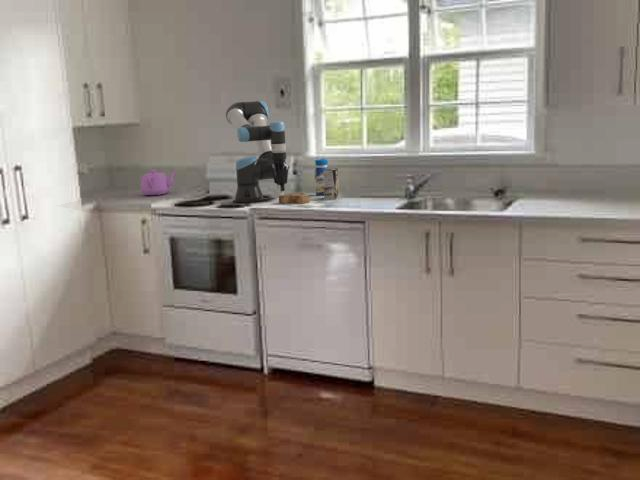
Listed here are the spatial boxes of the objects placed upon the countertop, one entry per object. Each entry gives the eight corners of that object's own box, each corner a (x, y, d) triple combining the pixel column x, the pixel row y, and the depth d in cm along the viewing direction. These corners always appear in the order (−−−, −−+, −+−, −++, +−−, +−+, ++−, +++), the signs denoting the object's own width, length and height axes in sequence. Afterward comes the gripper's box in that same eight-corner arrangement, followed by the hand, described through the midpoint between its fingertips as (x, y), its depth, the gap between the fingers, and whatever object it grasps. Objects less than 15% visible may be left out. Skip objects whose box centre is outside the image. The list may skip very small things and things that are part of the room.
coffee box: (336, 201, 348) (335, 170, 344) (324, 201, 349) (322, 170, 346) (339, 198, 357) (338, 168, 353) (327, 198, 358) (326, 168, 354)
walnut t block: (279, 203, 345) (278, 195, 344) (298, 199, 354) (297, 192, 353) (296, 205, 335) (295, 197, 334) (315, 201, 344) (315, 194, 343)
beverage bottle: (332, 194, 371) (330, 158, 367) (329, 197, 363) (328, 159, 359) (316, 195, 372) (315, 158, 368) (314, 197, 364) (312, 160, 360)
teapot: (136, 198, 398) (133, 172, 395) (146, 193, 419) (144, 168, 415) (174, 196, 397) (171, 171, 394) (183, 191, 417) (180, 167, 414)
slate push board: (273, 205, 344) (273, 203, 344) (300, 200, 356) (300, 198, 356) (307, 209, 326) (307, 208, 326) (334, 204, 338) (334, 202, 337)
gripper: (265, 152, 350) (268, 197, 355) (281, 152, 341) (284, 198, 346) (276, 151, 355) (279, 195, 360) (292, 151, 346) (295, 196, 351)
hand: (281, 197), depth 353 cm, fingers closed
